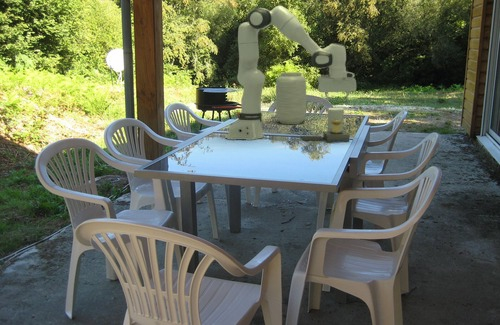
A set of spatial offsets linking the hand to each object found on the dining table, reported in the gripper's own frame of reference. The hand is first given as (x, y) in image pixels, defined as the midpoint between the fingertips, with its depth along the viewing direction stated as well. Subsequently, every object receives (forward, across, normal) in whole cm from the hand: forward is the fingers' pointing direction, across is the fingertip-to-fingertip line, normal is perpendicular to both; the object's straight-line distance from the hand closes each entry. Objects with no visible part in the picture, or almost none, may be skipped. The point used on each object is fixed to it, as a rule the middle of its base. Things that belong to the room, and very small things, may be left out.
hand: (337, 100), depth 269 cm
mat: (+22, -12, +6) cm, 26 cm away
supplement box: (+22, +4, +21) cm, 31 cm away
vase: (+22, -18, +66) cm, 72 cm away
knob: (+22, 0, 0) cm, 22 cm away
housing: (+22, 0, 0) cm, 22 cm away
